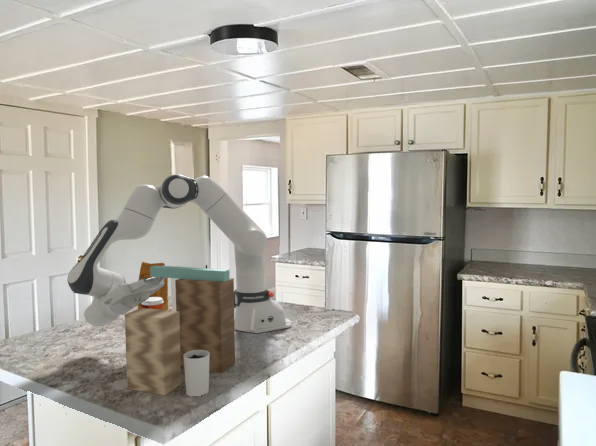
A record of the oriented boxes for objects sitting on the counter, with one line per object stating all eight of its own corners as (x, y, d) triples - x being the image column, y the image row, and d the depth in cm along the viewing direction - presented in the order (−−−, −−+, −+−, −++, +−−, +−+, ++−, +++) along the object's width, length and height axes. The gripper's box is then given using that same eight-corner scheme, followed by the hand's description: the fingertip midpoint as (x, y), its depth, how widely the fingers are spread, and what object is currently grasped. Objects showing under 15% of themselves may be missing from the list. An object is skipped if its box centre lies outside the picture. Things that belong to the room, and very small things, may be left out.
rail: (150, 276, 140) (149, 266, 139) (156, 274, 142) (156, 265, 142) (224, 281, 131) (224, 271, 130) (229, 279, 133) (229, 269, 133)
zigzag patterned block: (127, 388, 120) (124, 314, 119) (144, 378, 127) (142, 307, 125) (165, 395, 116) (162, 318, 115) (181, 384, 122) (179, 311, 121)
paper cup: (158, 341, 158) (156, 301, 157) (138, 340, 160) (136, 301, 159) (168, 334, 166) (167, 296, 165) (149, 333, 167) (148, 296, 166)
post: (177, 366, 135) (175, 280, 133) (192, 357, 143) (190, 275, 141) (221, 372, 130) (220, 283, 128) (235, 362, 138) (233, 278, 136)
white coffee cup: (179, 395, 116) (178, 357, 115) (193, 384, 122) (193, 348, 121) (201, 399, 114) (200, 360, 113) (215, 388, 120) (214, 351, 119)
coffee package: (147, 308, 203) (146, 260, 202) (171, 310, 200) (170, 261, 198) (133, 314, 194) (131, 263, 193) (158, 316, 190) (156, 264, 189)
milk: (183, 316, 190) (182, 264, 188) (193, 319, 186) (192, 265, 185) (171, 320, 185) (170, 266, 183) (181, 322, 181) (180, 267, 180)
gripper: (95, 295, 136) (126, 275, 132) (141, 282, 155) (169, 264, 151) (104, 314, 136) (136, 294, 131) (149, 299, 155) (178, 280, 150)
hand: (154, 278), depth 141 cm, fingers open, 8 cm apart
